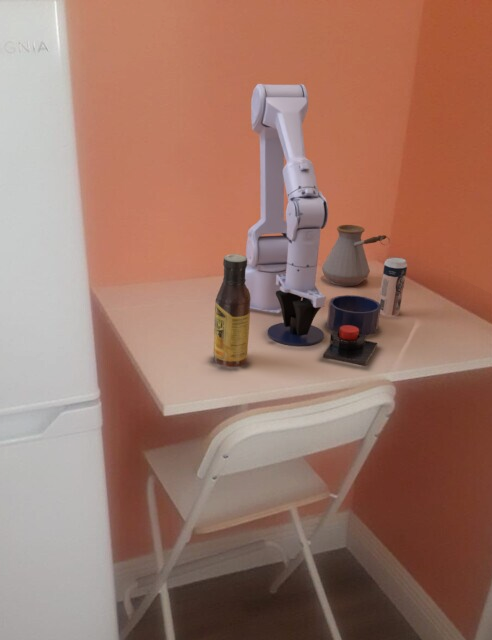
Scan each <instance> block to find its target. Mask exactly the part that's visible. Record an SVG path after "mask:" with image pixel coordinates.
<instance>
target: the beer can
mask: <svg viewBox="0 0 492 640" xmlns="http://www.w3.org/2000/svg"><path fill="white" fill-rule="evenodd" d="M407 268H408V264H407V260H406V259H404V258H403V257H399V256H398V257H397V256H390V257H387V259H386V260H385V261H384V265H383V271H382V278H381V284H380V291H379V298H378V303H379V304H380V306H381V310H380V315H383V316H387V317H394V316H398V315H400V310H401V304H402V299H403V294H404V293H403V292H404V288H405V281H406V276H407V275H406V274H407Z"/></svg>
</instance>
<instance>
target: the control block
mask: <svg viewBox="0 0 492 640" xmlns="http://www.w3.org/2000/svg"><path fill="white" fill-rule="evenodd" d="M339 332H340V329H338V330H334V331H332V332H331V333H330V337H329V343H330V345H329V346H328V347H327V349H326V350H325V351H324V353H323V354H322V358H323V359H327V360H334V361H339V362H343V363H348V364H354V365H358V366H363V367H365V366H367V364H368V362H369V361H370V359H371V357H372V355H373V354H374V352H375V351H376V349H377V348H378V344H379V343H378V342H374V341H369V340H367V335H365V334H364V333H362V332H360V331H359V333H358V339H352V340H349V339H343V338H341V337H339Z"/></svg>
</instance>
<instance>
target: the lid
mask: <svg viewBox="0 0 492 640" xmlns="http://www.w3.org/2000/svg"><path fill="white" fill-rule="evenodd" d="M296 323H297V320H296V314H294V315H291V322H290V327H285V326H284V322H279V323H275V324H272V325H271V326H269V327H268V328H267V336H268V338H269V339H271V340H272V341H274V342H275V343H278V344H281V345H284V346H291V347H308V346H309V347H310V346H313V345H316V344H320V343H321V342H322V341H323V340H324V337H325V333H324V331H323V330H322V329H320V328H319V327H318V326H316V325H312V324H311V326H310V329H309V332H308V334H307V335H301V336H299V335H297V330H296Z"/></svg>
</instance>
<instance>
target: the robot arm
mask: <svg viewBox="0 0 492 640" xmlns="http://www.w3.org/2000/svg"><path fill="white" fill-rule="evenodd" d="M308 107H309V93H308V89H307V88H306V85H304V84H303V83H299V84H263V83H257V84H256V86H255V87H254V88H253V91H252V96H251V99H250V108H251V109H250V111H251V112H250V115H251V116H250V117H251V118H250V119H251V120H250V121H251V130H252V131H253V132H255V133H256V134H258V136H259V166H260V167H259V168H260V169H259V171H260V172H259V174H260V175H259V176H260V178H259V179H260V183H259V184H260V190H259V191H260V219H259V220H258V221H257V222H255V224H253V225H252V226H251V227H250V228H249V229H248V230H247V240H246V245H245V255H246V256H245V257H246V258H247V267H246V271H245V279H246V281H245V285H246V287H247V289H248V290H249V293H250V297H251V298H250V309H252V310H253V309H254V310H259V311H264V312H271V313H277V314H280V313H281V314H282V320H283V323H284V326H285V327H290V322H291V315H294V314H296V320H297V323H296V330H297V335H299V336H301V335H307V334H308V332H309V329H310V326H311V325H312V324H313V321H314V320H315V318H316V315H317V314H318V312H319V311H320V310H321V308H323V307H325V304H326V296H325V295H324V294H323V293H322V292H321V291H320V290H319V288H318V286H317V285H316V282H317V281H316V280H317V269H318V260H319V250H320V242H321V241H320V240H321V231H322V230H323V229H325V228H326V226H327V223H328V218H329V207H328V200H327V199H326V197H325V196H324V195H323V191H321V190H319V187H318V183H317V177H316V172H315V168H314V163H313V162H312V161H311V160H310V159H308V158H307V157H306V149H305V148H306V147H305V139H304V138H305V137H304V130H303V129H304V128H303V123H304V122H305V118H306V114H307V112H308V109H309V108H308ZM285 160H286V164H285ZM285 192H286V197H287V205H286V210H285ZM272 234H273V235H272ZM275 234H281V235H275Z"/></svg>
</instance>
